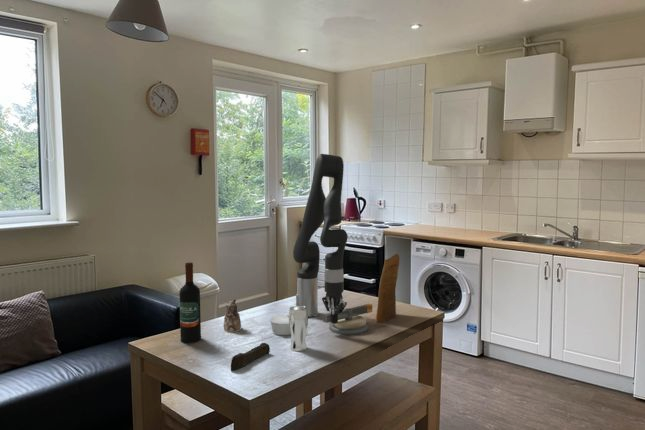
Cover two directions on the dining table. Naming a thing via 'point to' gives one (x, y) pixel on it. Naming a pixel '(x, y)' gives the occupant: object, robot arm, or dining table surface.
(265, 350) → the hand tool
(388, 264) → the pancake mix bag
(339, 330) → the dial plinth
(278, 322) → the ramekin
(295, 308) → the beer glass
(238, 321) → the figurine
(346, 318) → the capstan dial
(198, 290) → the wine bottle
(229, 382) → the dining table surface
